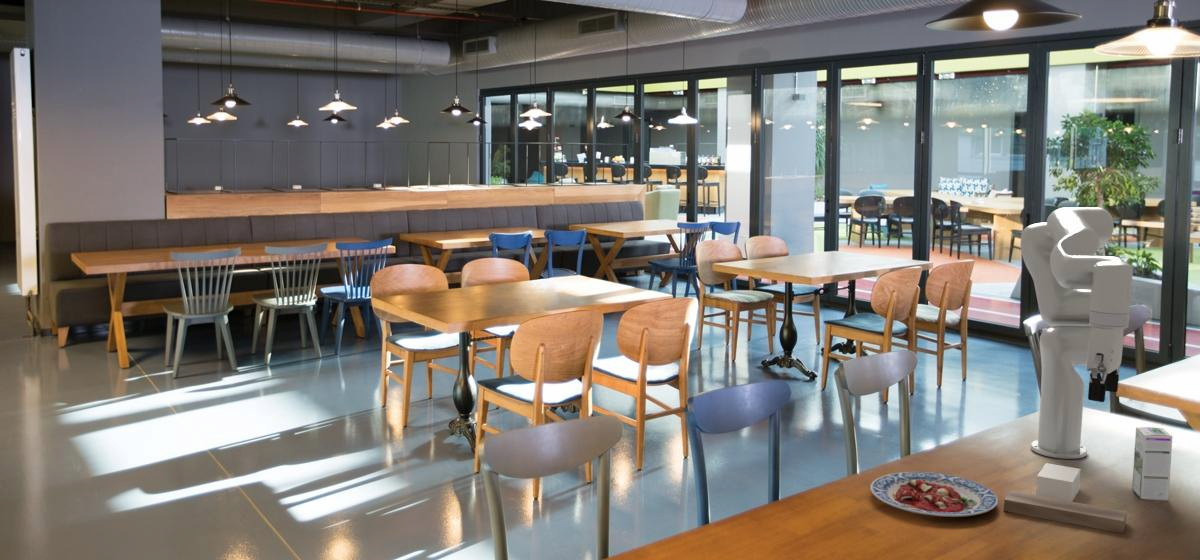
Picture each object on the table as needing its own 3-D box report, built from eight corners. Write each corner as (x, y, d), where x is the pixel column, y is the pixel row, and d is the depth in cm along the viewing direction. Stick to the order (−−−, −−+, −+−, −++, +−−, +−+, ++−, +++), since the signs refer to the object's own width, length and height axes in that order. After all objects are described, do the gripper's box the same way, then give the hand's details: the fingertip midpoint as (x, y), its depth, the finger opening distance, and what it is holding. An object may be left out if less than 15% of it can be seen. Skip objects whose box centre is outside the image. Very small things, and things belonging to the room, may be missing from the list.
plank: (1009, 501, 205) (1009, 490, 205) (1125, 523, 193) (1126, 511, 193) (1003, 510, 200) (1004, 499, 200) (1123, 533, 188) (1124, 521, 188)
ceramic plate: (848, 503, 206) (848, 490, 205) (902, 473, 224) (903, 460, 224) (967, 536, 188) (968, 521, 188) (1015, 500, 207) (1016, 486, 206)
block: (1044, 484, 216) (1046, 463, 215) (1079, 490, 212) (1080, 468, 212) (1035, 498, 208) (1037, 475, 207) (1071, 504, 204) (1072, 482, 203)
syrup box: (1169, 501, 205) (1174, 435, 203) (1139, 499, 206) (1144, 434, 204) (1159, 491, 211) (1164, 427, 209) (1130, 489, 212) (1135, 426, 210)
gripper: (1101, 310, 215) (1095, 384, 218) (1077, 323, 202) (1072, 401, 205) (1138, 314, 210) (1132, 390, 213) (1117, 328, 197) (1110, 408, 200)
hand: (1102, 395), depth 209 cm, fingers open, 9 cm apart
